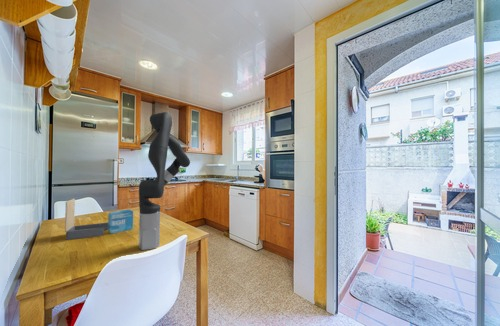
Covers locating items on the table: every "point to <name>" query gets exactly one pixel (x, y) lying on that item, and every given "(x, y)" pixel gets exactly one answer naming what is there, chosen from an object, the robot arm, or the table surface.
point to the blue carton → (120, 221)
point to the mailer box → (80, 230)
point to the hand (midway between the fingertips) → (143, 197)
